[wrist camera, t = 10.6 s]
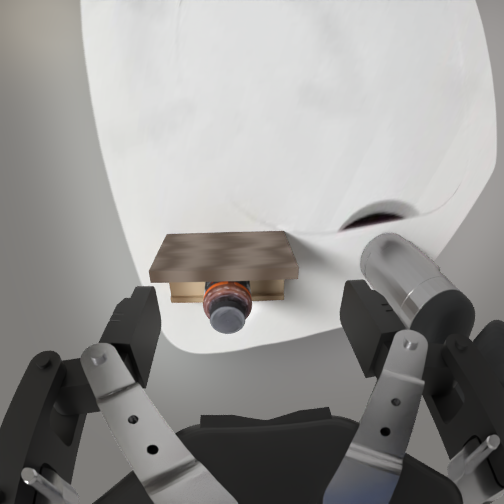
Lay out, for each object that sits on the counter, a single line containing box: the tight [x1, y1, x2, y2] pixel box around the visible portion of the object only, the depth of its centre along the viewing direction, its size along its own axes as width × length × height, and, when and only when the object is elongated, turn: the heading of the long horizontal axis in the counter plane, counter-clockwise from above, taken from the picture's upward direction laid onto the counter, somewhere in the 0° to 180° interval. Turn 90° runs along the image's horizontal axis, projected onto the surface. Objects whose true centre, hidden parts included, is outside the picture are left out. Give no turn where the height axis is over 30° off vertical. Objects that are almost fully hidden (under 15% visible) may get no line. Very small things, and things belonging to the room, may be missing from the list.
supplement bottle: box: [203, 281, 252, 334], centre depth 38 cm, size 6×6×11 cm
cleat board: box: [149, 231, 299, 303], centre depth 40 cm, size 17×10×11 cm, turn 90°
